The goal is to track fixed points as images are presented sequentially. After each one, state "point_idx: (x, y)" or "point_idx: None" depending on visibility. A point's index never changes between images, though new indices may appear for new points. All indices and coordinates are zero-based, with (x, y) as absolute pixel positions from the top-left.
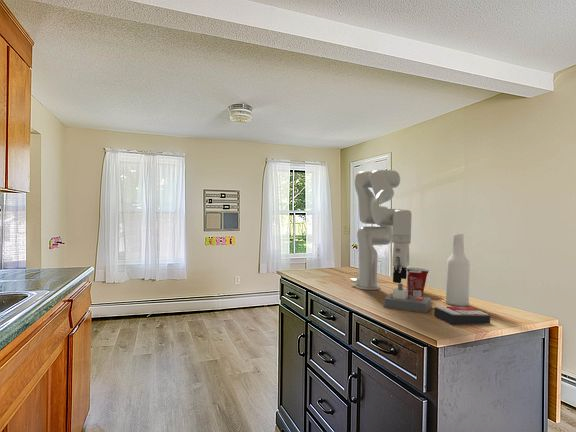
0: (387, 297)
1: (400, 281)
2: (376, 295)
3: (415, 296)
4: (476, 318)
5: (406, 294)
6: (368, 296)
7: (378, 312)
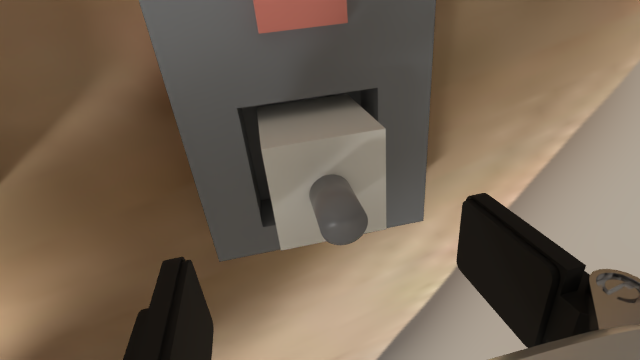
0: None
1: (492, 204)
2: None
3: (179, 74)
4: None
5: (316, 125)
6: None
7: (524, 164)
